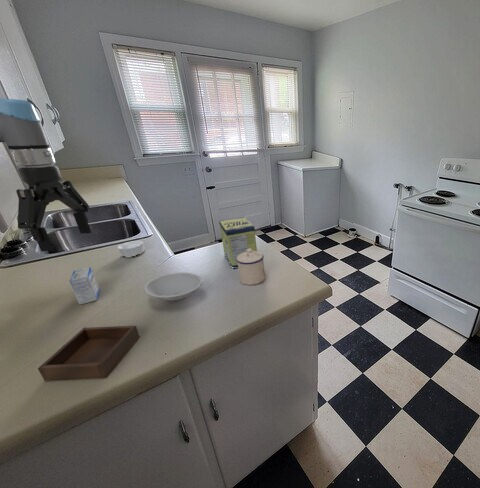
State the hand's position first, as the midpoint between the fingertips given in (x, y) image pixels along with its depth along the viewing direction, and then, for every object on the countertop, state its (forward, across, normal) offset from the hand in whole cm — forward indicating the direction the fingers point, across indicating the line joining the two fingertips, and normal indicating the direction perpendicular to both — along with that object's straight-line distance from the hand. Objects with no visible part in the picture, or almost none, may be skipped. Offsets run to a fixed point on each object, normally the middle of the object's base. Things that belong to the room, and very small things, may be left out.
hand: (68, 241), depth 79 cm
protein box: (+20, +25, -42) cm, 52 cm away
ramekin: (+19, +33, +6) cm, 38 cm away
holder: (+19, -26, -20) cm, 38 cm away
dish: (+20, -2, -28) cm, 34 cm away
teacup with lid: (+20, +9, -49) cm, 53 cm away
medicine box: (+19, 0, 0) cm, 19 cm away
